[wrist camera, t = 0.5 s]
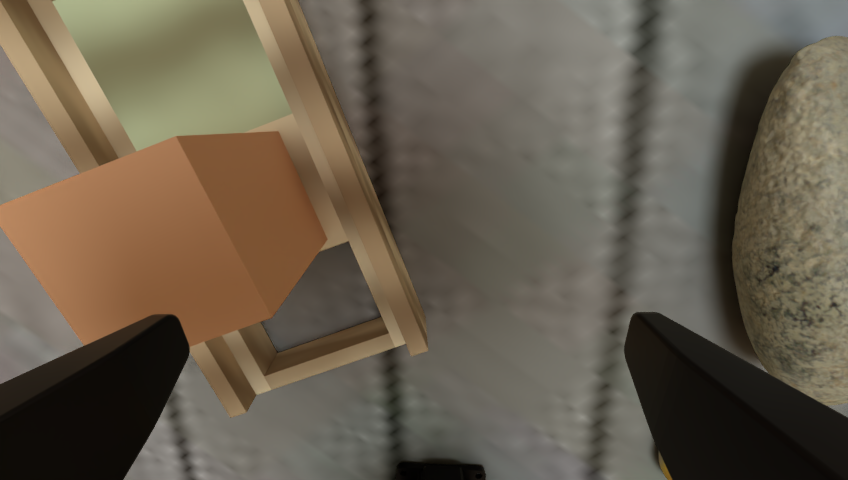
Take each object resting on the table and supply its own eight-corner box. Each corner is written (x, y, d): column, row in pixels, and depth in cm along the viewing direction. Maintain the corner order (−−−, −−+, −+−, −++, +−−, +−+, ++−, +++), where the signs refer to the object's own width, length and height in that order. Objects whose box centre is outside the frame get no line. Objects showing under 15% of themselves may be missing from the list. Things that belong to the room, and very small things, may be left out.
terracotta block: (327, 239, 21) (272, 317, 13) (227, 276, 22) (106, 376, 13) (278, 131, 20) (175, 135, 11) (170, 173, 20) (-12, 209, 11)
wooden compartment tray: (425, 316, 26) (428, 350, 22) (256, 375, 26) (230, 417, 22) (192, -262, 17) (130, -372, 13) (-45, -152, 18) (-167, -227, 14)
